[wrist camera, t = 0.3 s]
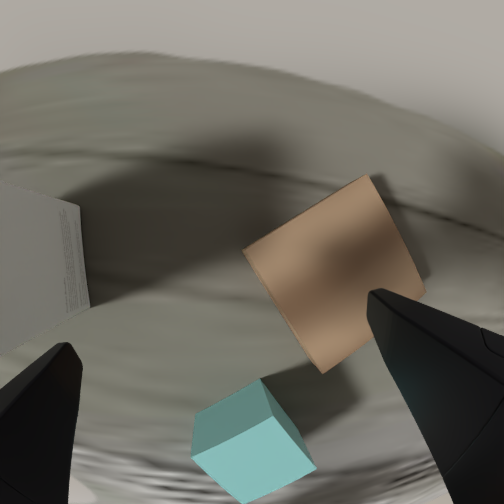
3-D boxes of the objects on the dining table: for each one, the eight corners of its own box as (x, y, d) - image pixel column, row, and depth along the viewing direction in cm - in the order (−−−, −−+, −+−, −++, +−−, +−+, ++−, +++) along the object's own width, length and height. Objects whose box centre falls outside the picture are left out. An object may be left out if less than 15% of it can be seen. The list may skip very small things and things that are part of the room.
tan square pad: (405, 288, 23) (426, 292, 20) (310, 360, 22) (322, 374, 19) (349, 182, 23) (366, 173, 20) (241, 250, 22) (244, 249, 19)
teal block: (296, 427, 22) (316, 468, 16) (236, 459, 22) (242, 504, 16) (259, 377, 22) (273, 415, 16) (195, 413, 21) (190, 457, 15)
